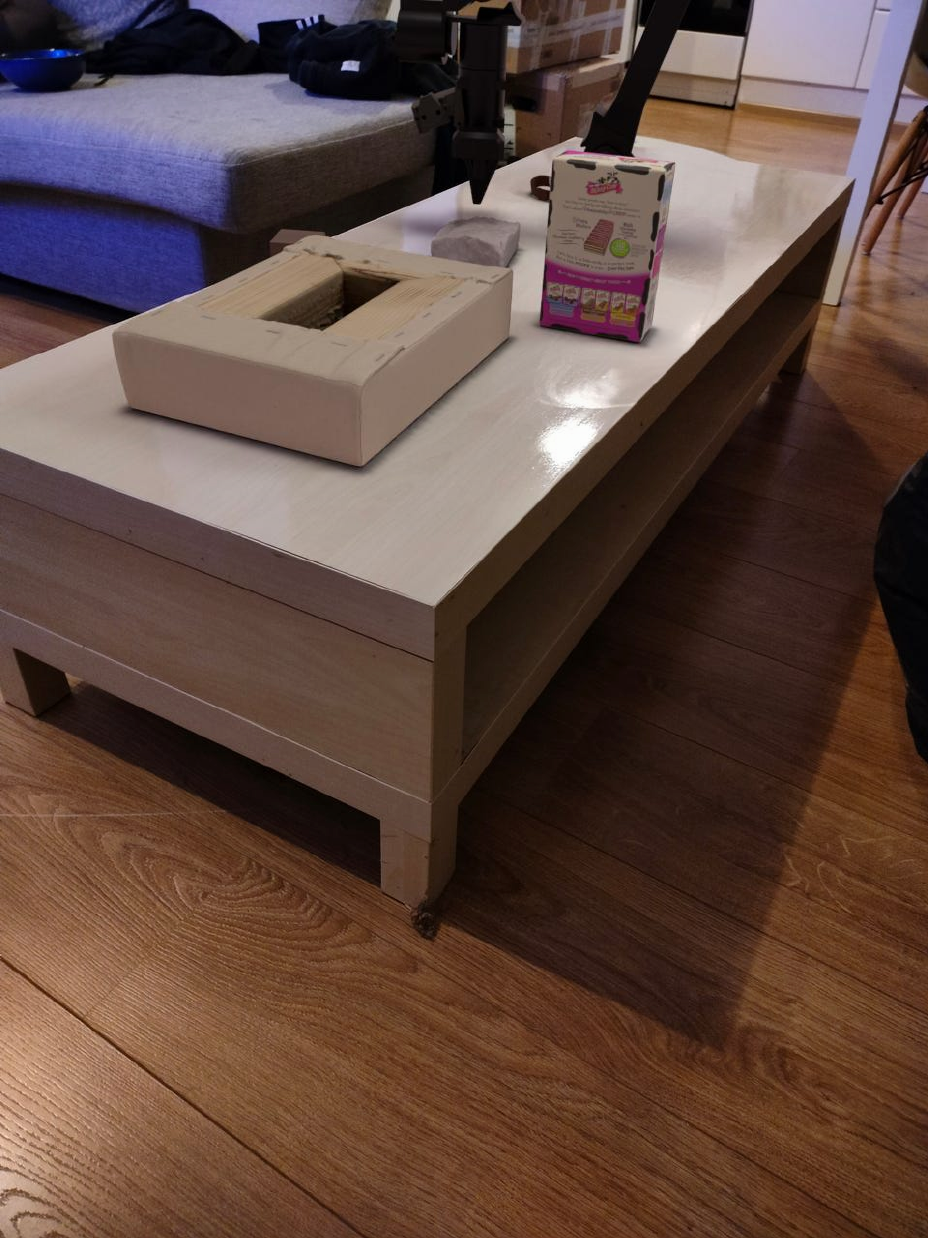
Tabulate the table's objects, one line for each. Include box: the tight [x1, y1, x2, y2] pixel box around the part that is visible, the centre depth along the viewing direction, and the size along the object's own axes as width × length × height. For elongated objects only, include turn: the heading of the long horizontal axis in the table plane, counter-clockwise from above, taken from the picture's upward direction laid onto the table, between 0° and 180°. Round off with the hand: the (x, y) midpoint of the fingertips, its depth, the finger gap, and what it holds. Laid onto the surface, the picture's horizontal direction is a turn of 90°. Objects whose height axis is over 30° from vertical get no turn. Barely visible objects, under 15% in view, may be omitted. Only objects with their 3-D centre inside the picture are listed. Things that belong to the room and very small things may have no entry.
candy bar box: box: [539, 149, 676, 343], centre depth 97 cm, size 11×5×16 cm, turn 68°
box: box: [111, 235, 514, 467], centre depth 88 cm, size 23×8×32 cm
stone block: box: [430, 216, 521, 268], centre depth 118 cm, size 12×5×10 cm
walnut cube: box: [268, 228, 326, 258], centre depth 108 cm, size 5×5×5 cm
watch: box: [529, 174, 551, 202], centre depth 142 cm, size 8×5×4 cm, turn 48°
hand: (476, 203), depth 126 cm, fingers closed
